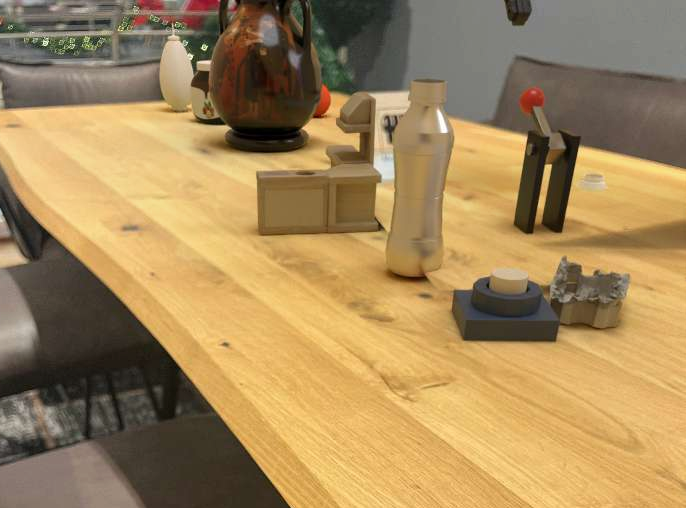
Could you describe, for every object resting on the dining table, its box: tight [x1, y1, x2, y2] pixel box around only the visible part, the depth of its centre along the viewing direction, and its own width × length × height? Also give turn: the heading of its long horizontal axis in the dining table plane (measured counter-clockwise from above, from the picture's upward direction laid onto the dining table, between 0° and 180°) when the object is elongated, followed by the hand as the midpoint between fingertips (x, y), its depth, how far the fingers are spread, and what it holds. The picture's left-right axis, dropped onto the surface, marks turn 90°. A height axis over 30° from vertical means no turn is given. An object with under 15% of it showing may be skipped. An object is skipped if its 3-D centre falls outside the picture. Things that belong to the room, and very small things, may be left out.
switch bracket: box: [513, 129, 582, 235], centre depth 98 cm, size 7×7×13 cm
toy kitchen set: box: [255, 91, 383, 236], centre depth 105 cm, size 18×17×15 cm
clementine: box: [312, 83, 332, 118], centre depth 176 cm, size 8×7×7 cm
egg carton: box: [549, 255, 631, 329], centre depth 79 cm, size 11×8×4 cm
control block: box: [451, 275, 561, 343], centre depth 76 cm, size 9×8×4 cm
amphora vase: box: [208, 0, 323, 152], centre depth 142 cm, size 22×22×28 cm
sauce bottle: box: [158, 22, 195, 113], centre depth 177 cm, size 8×8×18 cm
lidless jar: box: [576, 173, 608, 192], centre depth 119 cm, size 5×3×5 cm
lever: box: [518, 86, 566, 166], centre depth 97 cm, size 12×3×3 cm, turn 9°
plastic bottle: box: [384, 78, 456, 278], centre depth 83 cm, size 6×7×20 cm
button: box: [489, 267, 530, 295], centre depth 74 cm, size 4×4×2 cm
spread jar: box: [190, 59, 226, 125], centre depth 168 cm, size 12×11×12 cm
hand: (521, 20), depth 100 cm, fingers closed
